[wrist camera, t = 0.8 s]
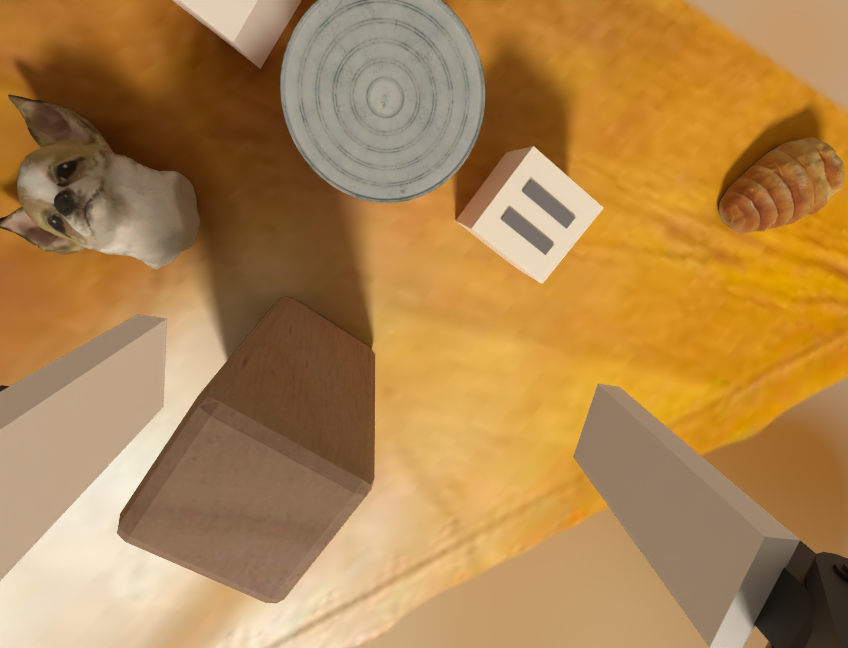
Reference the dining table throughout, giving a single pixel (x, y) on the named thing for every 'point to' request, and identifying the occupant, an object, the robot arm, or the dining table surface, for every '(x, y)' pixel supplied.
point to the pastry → (783, 186)
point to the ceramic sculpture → (96, 193)
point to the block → (264, 458)
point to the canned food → (383, 95)
